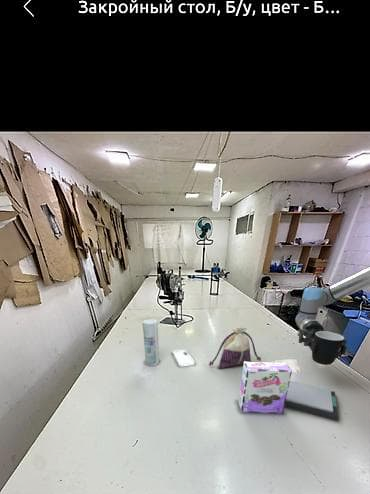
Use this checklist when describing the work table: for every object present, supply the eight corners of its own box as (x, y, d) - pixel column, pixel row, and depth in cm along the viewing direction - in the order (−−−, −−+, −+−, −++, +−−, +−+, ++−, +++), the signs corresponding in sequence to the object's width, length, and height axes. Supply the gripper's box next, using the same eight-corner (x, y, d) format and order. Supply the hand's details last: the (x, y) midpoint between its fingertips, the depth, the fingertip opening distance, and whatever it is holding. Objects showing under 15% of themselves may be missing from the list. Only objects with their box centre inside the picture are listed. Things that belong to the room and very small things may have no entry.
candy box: (240, 413, 78) (246, 369, 71) (237, 402, 83) (243, 360, 76) (283, 414, 77) (293, 370, 70) (277, 403, 83) (286, 361, 76)
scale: (333, 396, 87) (335, 389, 86) (336, 421, 74) (339, 414, 73) (287, 385, 93) (288, 379, 92) (282, 406, 81) (284, 399, 80)
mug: (338, 368, 82) (347, 341, 78) (310, 364, 85) (316, 338, 80) (332, 354, 92) (339, 330, 88) (306, 351, 95) (312, 327, 91)
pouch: (214, 374, 100) (217, 332, 92) (206, 365, 107) (208, 326, 99) (262, 365, 108) (269, 325, 100) (252, 357, 115) (257, 320, 108)
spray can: (142, 364, 108) (139, 322, 100) (149, 358, 114) (147, 318, 105) (155, 366, 106) (153, 324, 98) (161, 360, 111) (160, 320, 103)
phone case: (172, 353, 119) (179, 366, 106) (172, 350, 119) (179, 364, 105) (186, 351, 121) (195, 365, 108) (186, 349, 120) (195, 362, 107)
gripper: (336, 338, 101) (360, 362, 81) (283, 334, 105) (294, 356, 85) (341, 322, 98) (367, 342, 78) (286, 318, 102) (298, 336, 82)
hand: (329, 349), depth 82 cm, fingers closed on mug, 9 cm apart
